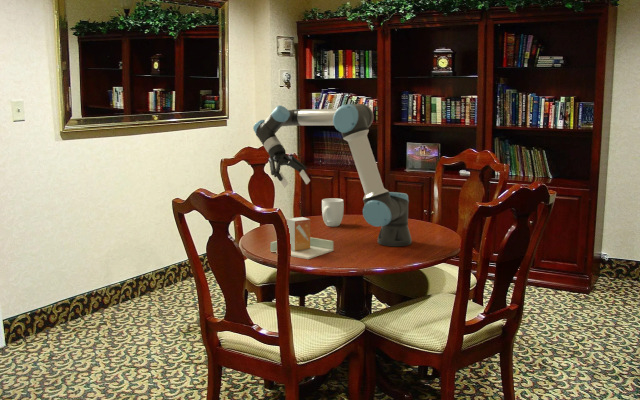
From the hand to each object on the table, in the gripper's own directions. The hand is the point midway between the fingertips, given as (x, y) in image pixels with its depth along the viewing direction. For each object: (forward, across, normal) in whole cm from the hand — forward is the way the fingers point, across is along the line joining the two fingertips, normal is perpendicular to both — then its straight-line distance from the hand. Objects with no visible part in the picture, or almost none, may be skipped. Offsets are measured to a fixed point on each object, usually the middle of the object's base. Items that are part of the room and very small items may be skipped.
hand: (297, 183), depth 303 cm
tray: (+30, +14, -6) cm, 34 cm away
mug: (+10, -34, -27) cm, 45 cm away
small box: (+28, +14, -8) cm, 32 cm away
